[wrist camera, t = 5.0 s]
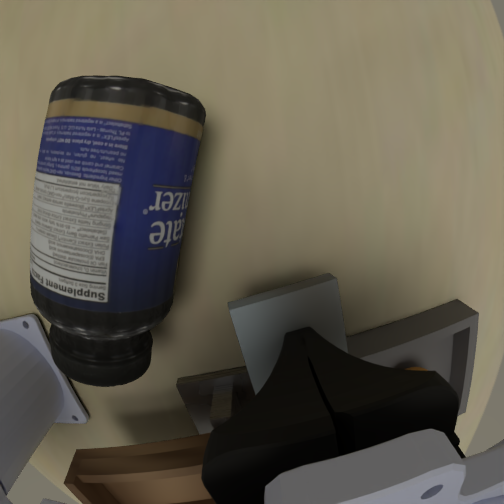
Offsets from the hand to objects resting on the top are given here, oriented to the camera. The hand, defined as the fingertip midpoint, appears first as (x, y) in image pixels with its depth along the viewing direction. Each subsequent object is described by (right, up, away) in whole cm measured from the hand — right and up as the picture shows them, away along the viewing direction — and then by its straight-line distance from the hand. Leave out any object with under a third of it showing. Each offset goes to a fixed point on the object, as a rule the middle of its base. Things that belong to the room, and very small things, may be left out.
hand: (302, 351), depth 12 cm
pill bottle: (-6, +10, -2) cm, 12 cm away
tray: (+7, -3, +5) cm, 9 cm away
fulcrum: (-3, -6, +5) cm, 8 cm away
